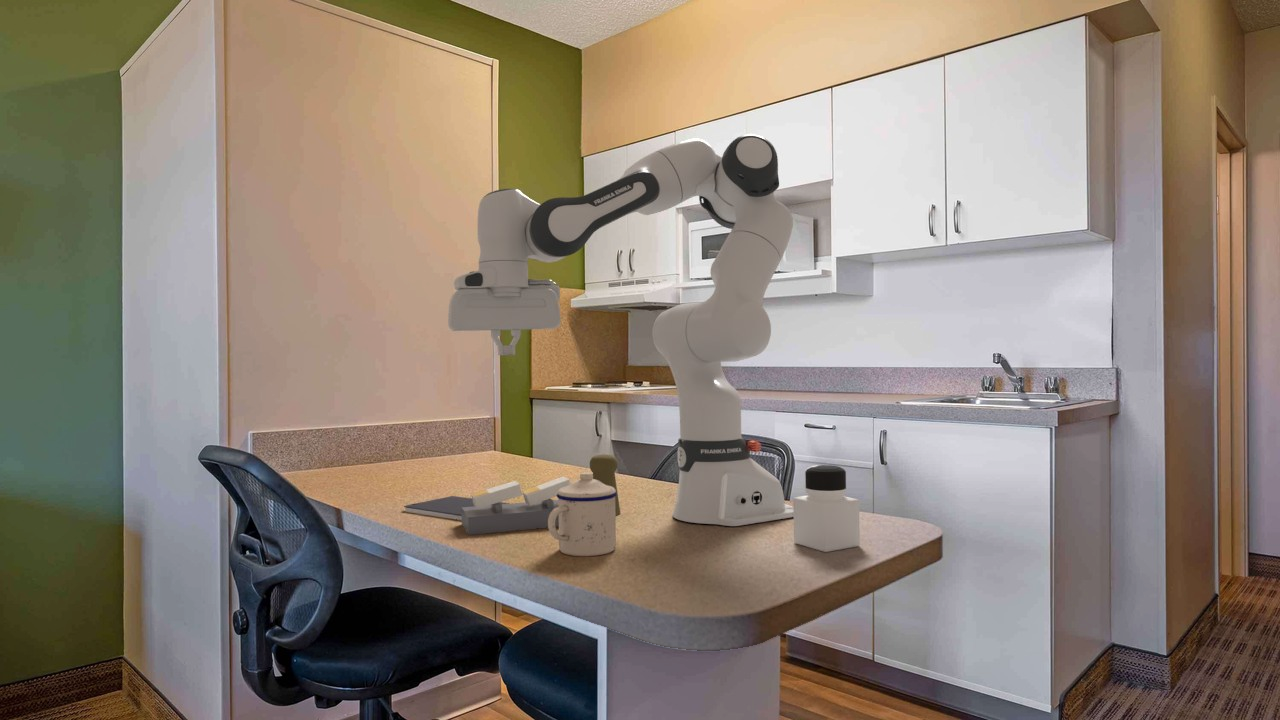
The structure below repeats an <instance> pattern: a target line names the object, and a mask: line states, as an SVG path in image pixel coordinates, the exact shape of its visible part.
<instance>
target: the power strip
mask: <svg viewBox="0 0 1280 720" xmlns="http://www.w3.org/2000/svg"><path fill="white" fill-rule="evenodd" d="M557 507H558V499H552V498H550V499H547V500H544V501H542V502H539V503H536V504H534V505H531V506H529V505H528V504H527V503H526V502H525V501H524V502H515V503H510V504H501V503H500V502H498V503H495V504H492V505H489V506H485V507H482V508H479V509H477V508H476V507H462V520H461V525H462V527H463V528H464V530H465V533H467V535H468V536H471V535H472V536H473V535H484V534H493V533H494V534H495V533H504V532H505V533H506V531H507V532H515V531H516V530H518V531H527V530H526V529H528V530H537V529H536V528H539V529H547V528H546V527H548V518H549V515H550V513H551V512H552V511H553V510H554V509H555V508H557ZM555 526H556V528H559V514H558V516H557V517H556V521H555ZM516 532H517V531H516Z"/></svg>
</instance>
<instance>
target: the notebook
mask: <svg viewBox="0 0 1280 720" xmlns="http://www.w3.org/2000/svg"><path fill="white" fill-rule="evenodd" d="M500 503H501V504H511V503H509V502H504V501H502V502H500ZM403 507H404V509H405V510H404V511H405V512H406V513H413V514H417V515H426V516H432V517H436V518H437V517H438V518H445V519H451V520H456V519H457V520H458V521H462V507H475V506H474V504H473V500H472V497H463V496H456V495H451V496H445V497H440V498H435V499H430V500H426V501H422V502H421V501H420V502H417V503H410V504H407V505H403Z"/></svg>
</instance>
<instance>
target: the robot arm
mask: <svg viewBox="0 0 1280 720" xmlns="http://www.w3.org/2000/svg"><path fill="white" fill-rule="evenodd" d="M778 158H779V157H778V154H777V150H776V148H775V147H774V145H773V144H772V142H771V141H769V140H768V139H766V138H765V137H764V136H761V135H757V134H753V133H749V134H748V133H746V134H743V135H740V136H737V137H736V138H734V139H733V140H732V141H731V142H730V143H729V145H728V146H727V147H726V148H725V150H724V151H723V154H722V156H720V155H718V154H716V152H715V150H714V148H713V147H712V146H711V145H710V144H709V143H708V142H707V141H705V140H703V139H700V138H691V139H687V140H683V141H679V142H675V143H672V144H670V145H668V146H665V147H662V148H660V149H658V150H655V151H653V152H651V153H650V154H649V153H648V155H645V156H643V157H642V158H641V159H639V160H637V161H636V162H635V163H633V164H631V166H629V167H628V168H627V169H626V170H625V171H624V173H623V175H621V176H620V178H618V179H617V180H615V181H612V182H611V183H609V184H607V185H604V186H602V187H600V188H598V189H595V190H594V191H591V192H589V193H586V194H584V195H582V196H575V197H573V196H572V197H567V196H566V197H565V196H563V197H562V196H561V197H560V196H559V197H553V198H549V199H547V200H546V201H543V202H542V203H541V204H540V203H538V202H537V201H535V200H533V199H531V198H529V197H528V196H527V195H526V194H524V193H523V192H522V191H521V190H519V189H516V188H503V189H497V190H493V191H491V192H488V193H487V194H485V195H484V196H483V197H482V199H480V202H479V205H478V210H477V241H478V244H479V249H480V254H479V257H478V270H475V271H474V270H473V271H470V272H468V273H465V274H462V275H460V276H457V277H456V278H455V279H454V281H453V285H454V286H453V287H454V289H455V290H456V291H455V292H454V293H453V294H452V295H451V296H450V300H449V305H448V315H447V317H448V318H447V323H448V325H447V326H448V328H449V329H450V330H451V332H468V331H477V332H478V331H490V337H491V339H492V340H493V342H494V343H495V345H496V347H497V356H515V355H516V345H517V343H518V341H519V340H520V338H521V337H522V331H523V330H555V329H558V328H559V327H560V325H561V323H562V318H561V316H562V315H561V310H560V309H561V308H560V305H559V304H560V303H559V301H560V298H561V289H560V285H558V283H557V282H555V281H553V280H552V279H550V278H549V279H548V278H547V279H537V278H536V279H533V278H530V279H529V267H528V266H529V263H528V260H529V259H530V260H533V261H540V262H543V263H554V262H558V261H560V260H562V259H564V258H566V257H568V256H571V255H573V254H576V253H577V252H578V251H580V250H581V249H582V248H583V247H584V245H585V244H587V242H588V241H589V239H590V238H591V236H592V235H593V234H594V233H595V232H597V231H598V230H599V229H601V228H604V227H605V226H607V225H609V224H611V223H613V222H615V221H617V220H619V219H621V218H623V217H625V216H627V215H630V214H633V213H639V214H641V215H644V216H650V215H653V214H658V213H661V212H664V211H667V210H669V209H671V208H673V207H674V208H675V207H676V206H678V205H680V204H682V203H684V202H686V201H688V200H690V199H692V198H693V197H698V198H699V204H700V206H701V207H702V208H703V209H705V211H707V212H708V214H709V216H710V217H711V218H712V219H713V221H714V222H716V223H717V224H719V226H721V227H723V228H726V229H729V230H730V232H729V233H728V236H727V237H726V238H725V240H724V242H723V244H722V246H721V248H720V250H719V251H718V253H717V256H716V257H715V259H714V261H713V262H712V263H711V267H710V273H709V274H710V277H711V280H712V282H713V285H714V287H715V288H714V291H713V293H712V295H711V296H710V297H709V298H708V299H707V300H704V301H699V302H698V301H697V302H690V303H681V304H677V305H675V306H673V307H670V308H667V309H666V310H664V311H661V313H660V314H659V315H658V316H657V317H656V318H655V321H654V322H653V324H652V331H651V332H652V334H651V337H652V340H653V341H652V342H653V345H654V347H655V348H656V350H657V351H658V353H659V354H660V355H662V357H663V358H664V359H665V361H666V362H667V364H668V367H669V368H670V371H671V374H672V377H673V380H674V383H675V386H676V390H677V395H678V397H677V398H678V406H679V407H678V409H679V430H680V431H679V434H680V437H679V438H678V441H677V442H678V443H677V463H678V466H677V467H678V470H679V477H678V478H679V479H678V487H677V494H676V495H677V496H676V501H675V506H674V509H673V513H672V517H673V518H674V519H677V520H678V521H683V522H685V523H687V522H688V523H692V524H693V523H695V524H707V525H718V526H719V525H720V526H727V527H738V526H744V525H751V524H756V523H757V524H758V523H765V522H771V521H777V520H781V519H782V520H784V519H789V518H794V514H793V506H792V505H791V504H790V505H789V504H787V503H785V496H784V491H783V487H782V485H781V482H780V481H779V479H778V477H776V476H774V475H773V474H772V473H770V472H769V471H768V470H766V469H765V468H764V467H763V466H762V465H761V464H759V463H758V462H756V461H755V460H754V459H753V458H751V452H754V453H759V452H760V450H762V447H763V446H762V444H761V443H760V442H759V441H758V440H757V441H756V440H749V441H748V440H747V439H746V438H743V437H742V401H741V396H740V393H739V392H738V390H737V389H736V388H735V387H734V386H733V385H731V383H730V382H728V380H727V377H726V376H725V373H724V370H723V366H722V363H723V362H724V363H725V362H728V363H729V362H734V363H735V362H739V361H744V360H746V359H749V358H754V357H756V356H758V355H761V354H762V353H763V352H764V351H765V350H766V348H767V346H768V344H769V342H770V339H771V336H772V334H771V333H772V324H771V320H770V318H769V317H770V316H769V314H768V313H767V312H766V310H765V308H764V307H763V303H764V298H765V297H764V296H765V294H766V291H767V289H768V287H769V284H770V283H771V281H772V278H773V276H774V275H775V272H776V270H777V268H778V266H779V265H780V263H781V260H782V259H783V256H784V254H785V251H786V249H787V247H788V244H789V240H790V238H791V235H792V231H793V227H794V218H793V215H792V213H791V211H790V210H789V208H788V207H787V206H786V205H785V204H784V203H782V202H780V201H778V200H777V199H776V197H775V194H774V193H775V191H777V189H778V188H779V186H780V179H779V159H778ZM702 201H703V202H702ZM501 331H510V335H511V337H513V338H512V340H511V341H510V344H507V345H505V344H504V345H503V343H502V342H501V339H500V338H499V337H501V335H502V334H501Z"/></svg>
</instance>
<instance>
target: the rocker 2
mask: <svg viewBox="0 0 1280 720" xmlns="http://www.w3.org/2000/svg"><path fill="white" fill-rule="evenodd" d="M571 483H572V482H571V481H570V479H569V478H567V477H566V476H561V477H558V478H555V479H553V480H550V481H547V482H545V483H542V484H539V485H537V486H533V487H531V488H527V489H526V490H525V489H524V490H523V491H522V490H521V492H522V496H523V499H524V503H525V502H526V503H527V504H528V505H529V506H531V505H534V504H536V503H539V502H542V501H544V500H547V499H552V498H555V497H557V494H558V491H559V489H561V488H563V487H566V486H568V485H570V484H571Z"/></svg>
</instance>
